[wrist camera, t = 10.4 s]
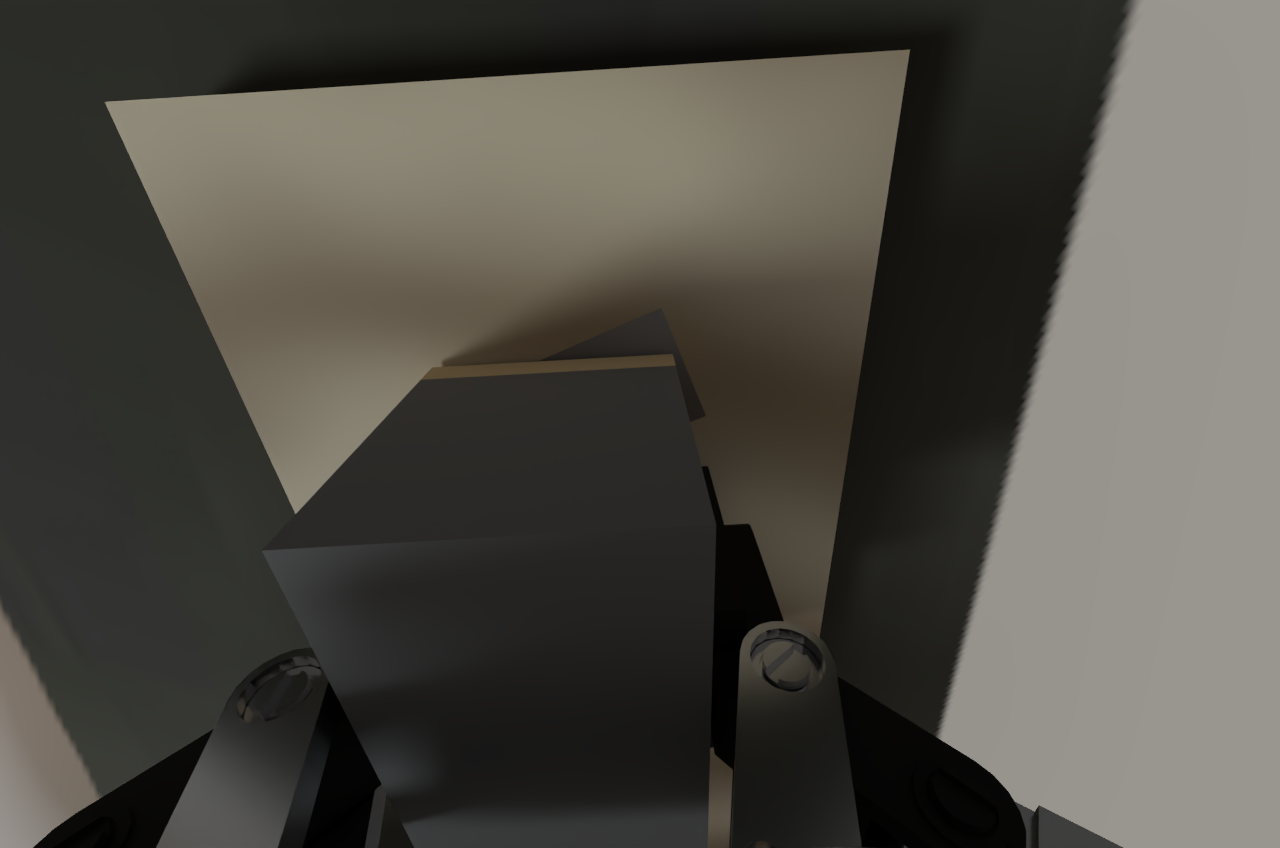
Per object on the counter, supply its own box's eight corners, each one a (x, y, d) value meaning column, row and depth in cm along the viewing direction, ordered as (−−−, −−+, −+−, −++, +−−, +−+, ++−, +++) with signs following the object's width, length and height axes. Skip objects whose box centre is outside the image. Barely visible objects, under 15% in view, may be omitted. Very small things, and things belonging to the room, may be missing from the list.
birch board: (774, 801, 20) (786, 850, 19) (472, 821, 20) (461, 872, 19) (863, 67, 9) (910, 48, 7) (187, 112, 9) (104, 102, 8)
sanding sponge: (678, 645, 13) (706, 892, 9) (505, 655, 13) (445, 908, 9) (672, 353, 9) (716, 524, 5) (432, 367, 9) (260, 550, 5)
